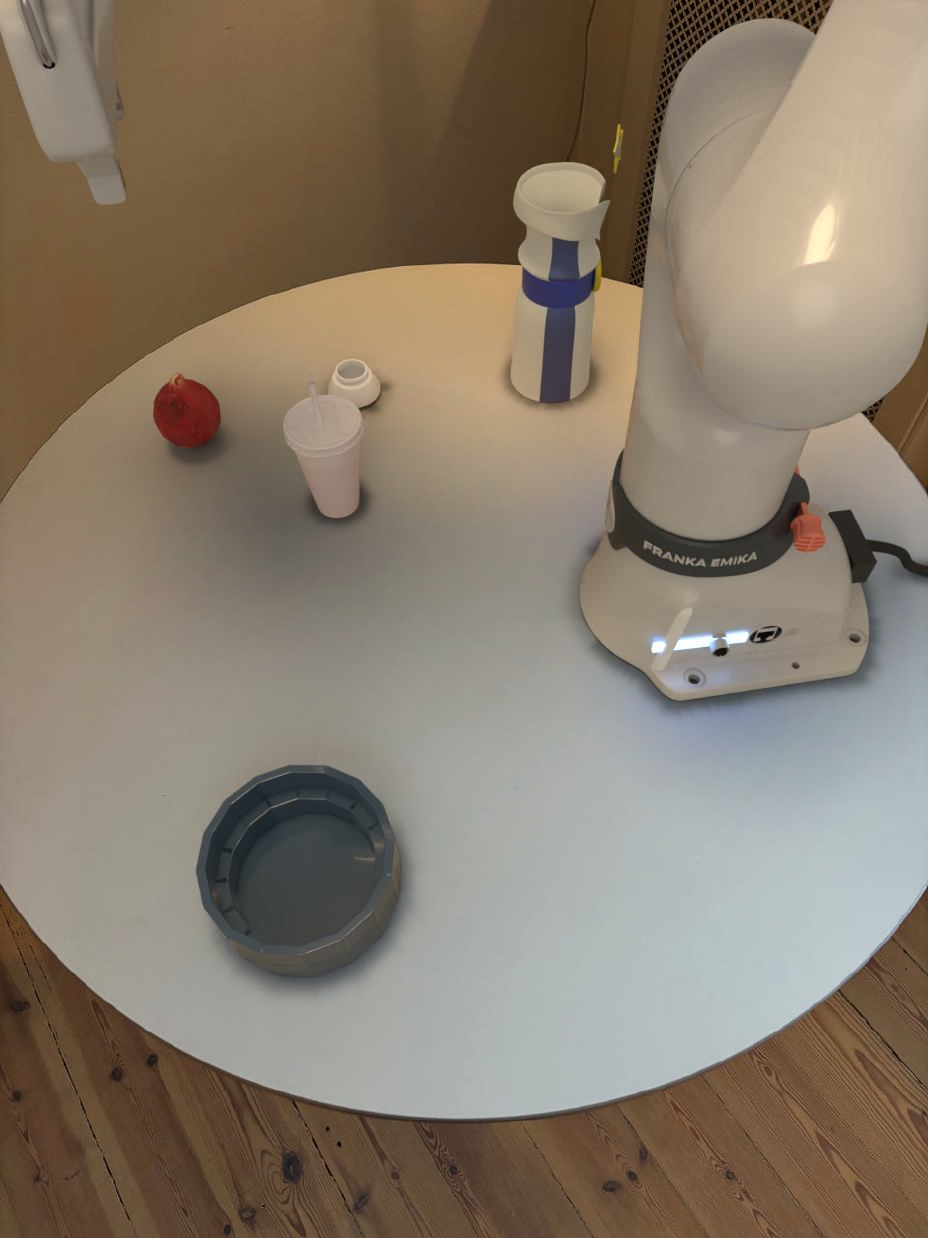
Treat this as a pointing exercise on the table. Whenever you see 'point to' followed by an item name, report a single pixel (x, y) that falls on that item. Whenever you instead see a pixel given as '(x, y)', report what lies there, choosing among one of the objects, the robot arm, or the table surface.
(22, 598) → the table surface
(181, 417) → the red fruit
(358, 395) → the lidless jar
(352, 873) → the bowl
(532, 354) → the water bottle
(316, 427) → the smoothie
